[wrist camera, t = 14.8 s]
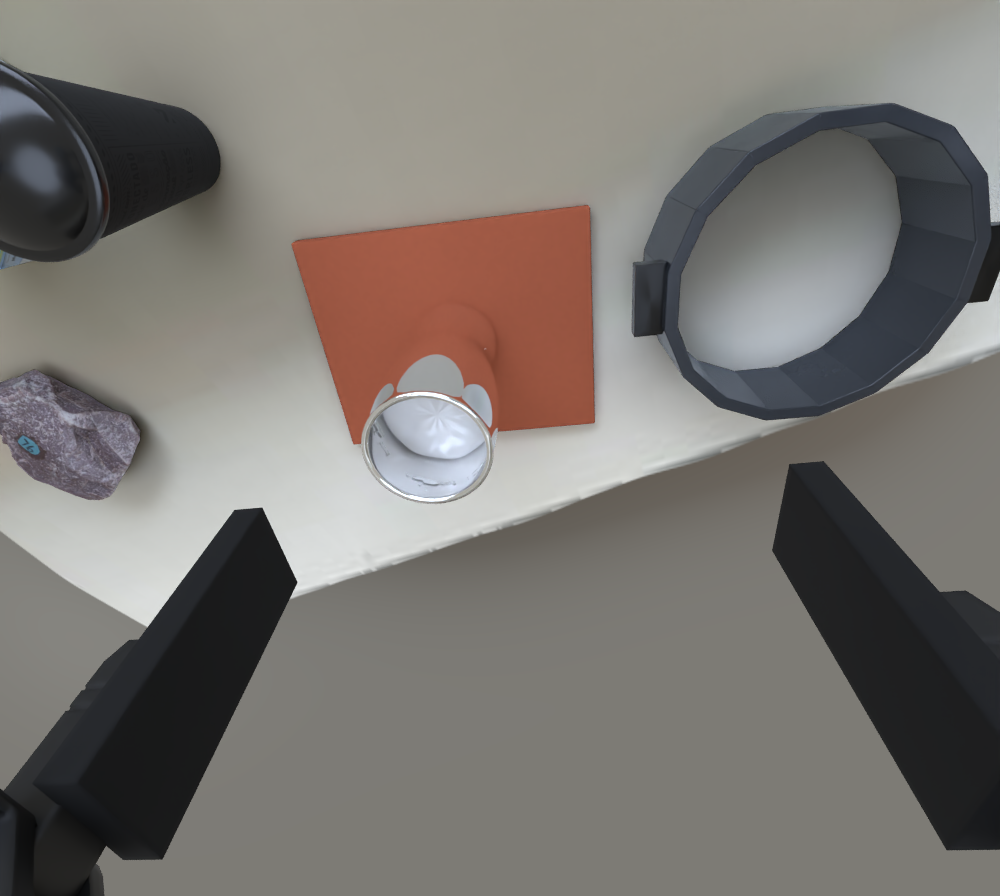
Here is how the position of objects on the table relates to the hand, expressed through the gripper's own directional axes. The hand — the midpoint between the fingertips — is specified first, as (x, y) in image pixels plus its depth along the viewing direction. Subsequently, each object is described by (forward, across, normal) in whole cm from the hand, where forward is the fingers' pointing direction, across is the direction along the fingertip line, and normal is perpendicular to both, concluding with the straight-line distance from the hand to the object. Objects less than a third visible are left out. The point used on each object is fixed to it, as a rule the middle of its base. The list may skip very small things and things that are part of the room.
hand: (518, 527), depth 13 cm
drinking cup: (+27, -21, +10) cm, 36 cm away
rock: (+27, -38, -8) cm, 47 cm away
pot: (+28, +17, -2) cm, 33 cm away
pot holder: (+27, -5, -4) cm, 28 cm away
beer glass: (+26, -5, -4) cm, 27 cm away
